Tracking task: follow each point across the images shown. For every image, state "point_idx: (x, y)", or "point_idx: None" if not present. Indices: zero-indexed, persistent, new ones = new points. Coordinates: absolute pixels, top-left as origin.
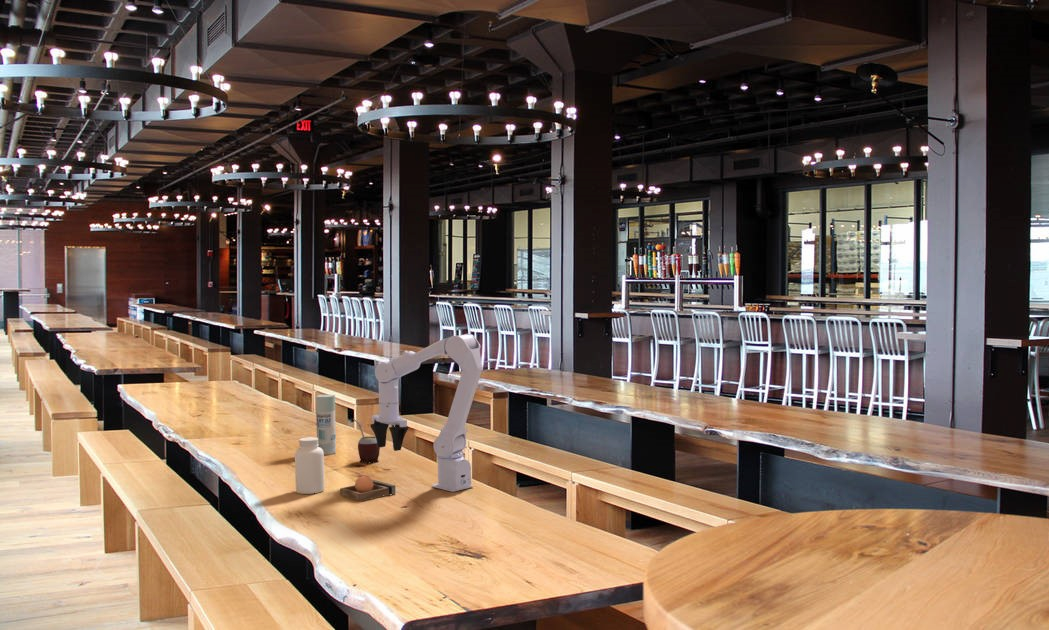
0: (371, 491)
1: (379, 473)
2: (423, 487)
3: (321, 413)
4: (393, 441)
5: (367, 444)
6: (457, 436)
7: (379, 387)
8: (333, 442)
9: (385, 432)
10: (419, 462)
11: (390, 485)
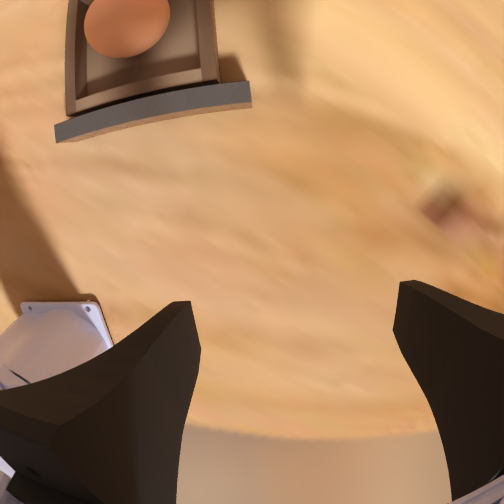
0: (67, 36)
1: (432, 281)
2: (109, 280)
3: None
4: (143, 338)
5: None
6: None
7: None
8: None
9: (442, 417)
10: (418, 420)
11: (65, 124)
